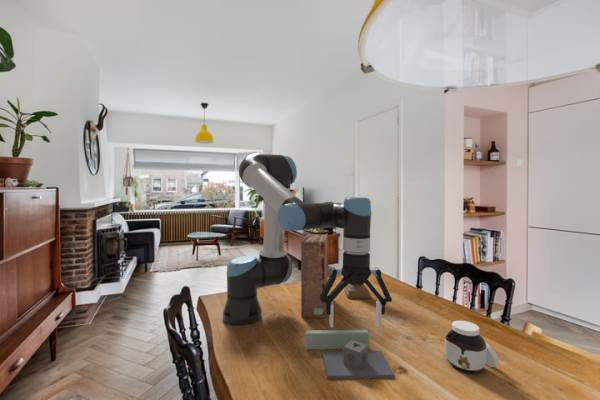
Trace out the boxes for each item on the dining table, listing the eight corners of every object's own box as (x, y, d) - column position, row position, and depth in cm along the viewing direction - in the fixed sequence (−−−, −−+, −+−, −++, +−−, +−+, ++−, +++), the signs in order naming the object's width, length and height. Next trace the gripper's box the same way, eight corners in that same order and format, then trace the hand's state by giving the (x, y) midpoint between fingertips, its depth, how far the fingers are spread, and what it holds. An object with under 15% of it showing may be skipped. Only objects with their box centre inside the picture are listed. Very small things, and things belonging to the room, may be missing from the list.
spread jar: (440, 362, 87) (441, 323, 86) (458, 350, 94) (459, 313, 93) (486, 383, 77) (487, 339, 77) (502, 367, 84) (503, 327, 84)
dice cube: (367, 362, 86) (367, 344, 85) (359, 370, 82) (359, 352, 81) (351, 356, 89) (351, 339, 88) (343, 364, 85) (343, 346, 84)
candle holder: (371, 298, 138) (371, 247, 138) (347, 298, 138) (347, 247, 138) (366, 290, 149) (366, 243, 148) (344, 290, 149) (344, 243, 149)
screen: (305, 349, 94) (305, 333, 94) (305, 345, 96) (305, 330, 96) (368, 348, 95) (368, 332, 94) (367, 344, 97) (367, 329, 96)
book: (308, 294, 143) (308, 232, 143) (327, 295, 142) (327, 233, 141) (301, 317, 118) (301, 241, 117) (324, 318, 117) (324, 242, 116)
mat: (327, 378, 79) (327, 375, 79) (322, 354, 91) (322, 351, 91) (394, 377, 80) (394, 374, 80) (380, 353, 92) (380, 350, 92)
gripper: (313, 254, 80) (312, 331, 81) (405, 255, 81) (402, 331, 82) (311, 248, 88) (310, 319, 89) (395, 249, 89) (393, 319, 90)
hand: (354, 325), depth 86 cm, fingers open, 13 cm apart
